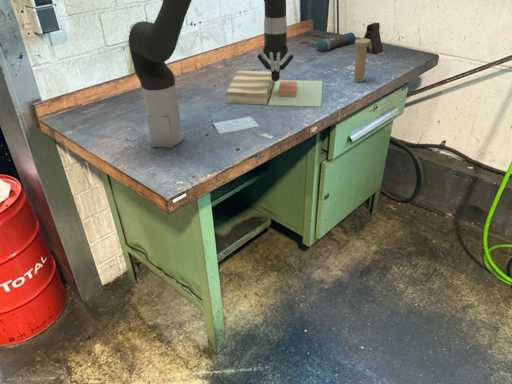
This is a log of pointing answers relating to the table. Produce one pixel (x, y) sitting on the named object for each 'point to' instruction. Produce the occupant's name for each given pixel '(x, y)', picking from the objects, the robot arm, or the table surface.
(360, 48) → the handle
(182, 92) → the table surface
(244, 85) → the deck
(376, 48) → the phone stand
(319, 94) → the mat
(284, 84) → the salmon orange block
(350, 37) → the flashlight
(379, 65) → the table surface
